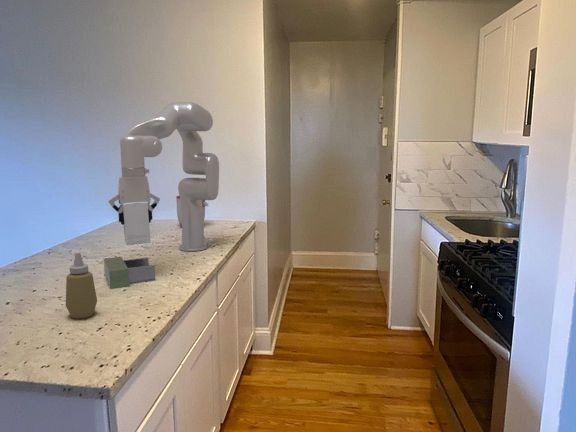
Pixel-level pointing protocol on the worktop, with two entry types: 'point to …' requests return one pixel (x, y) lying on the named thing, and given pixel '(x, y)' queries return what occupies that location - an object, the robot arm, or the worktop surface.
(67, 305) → the squeeze bottle
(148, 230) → the skincare box
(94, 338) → the worktop surface
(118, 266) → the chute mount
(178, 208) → the citrus juicer
